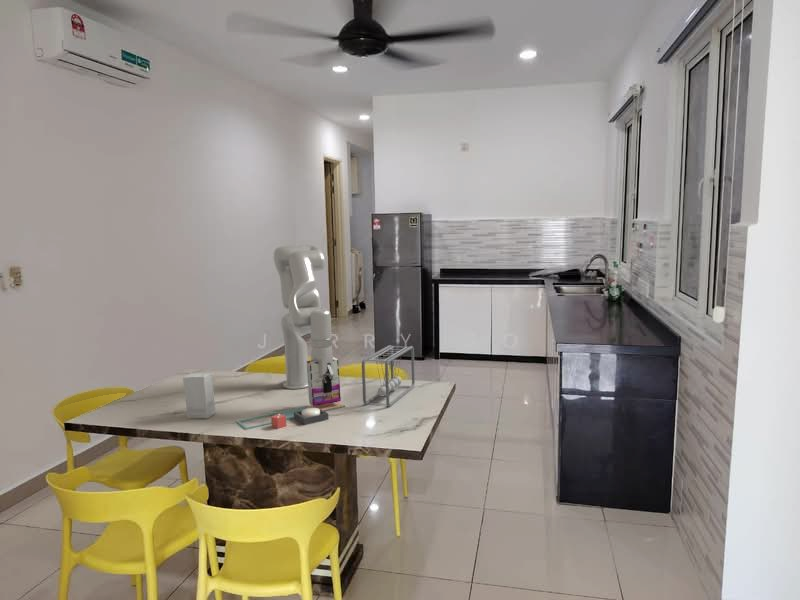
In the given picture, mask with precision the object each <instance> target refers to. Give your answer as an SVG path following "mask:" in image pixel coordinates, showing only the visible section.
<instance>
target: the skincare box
mask: <svg viewBox="0 0 800 600" xmlns="http://www.w3.org/2000/svg"><path fill="white" fill-rule="evenodd" d="M182 381H183V390H184V398H185V399H184V400H185V405H186V406H185V407H186V415H187V417H186V418H187V419H209V418H210V417H212V416H214V415H215V414H216V413H217V412H216V409H217V408H216V401H215V392H214V383H213V381H214V380H213V373H212V372H191V373H189V374H187V375H185V376H183V377H182Z"/></svg>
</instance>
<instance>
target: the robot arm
mask: <svg viewBox="0 0 800 600" xmlns="http://www.w3.org/2000/svg"><path fill="white" fill-rule="evenodd" d="M273 261H274V262H273V263H274V266H275V269H276V270H277V273H278V275H279V276H278V277H279V279H280V290H281V300H282V305H283V307H284V309H286V310H288V312H289V313H286V314H284V315H282V317H281V319H280V327H281V331H282V335H283V341H284V342H283V344H284V345H283V346H284V358H285V376H286V380H285V381H284V382H283V384H282V386H283V388H285V389H289V390H299V389H300V390H301V389H307V388H308V377H307V362H306V361H309V353H308V343H307V341H306V340H305V339H304V338H303V337H302V335H306V334H307V335H308V334H310V339H311V341H310V342H311V351H310V361H311V360H314V361H317V362H318V368H319V375H323V378H324V383H323V389H324V393H329V392H332V378H333V376H334V373H333V371H334V366H333V357H334V356H333V349H332V348H333V337H332V336H333V335H332V315H331V311H330V310H328V309H327V308H326V307H324V306H322V305H321V304H322V303H321V296H320V295H321V294H320V291H319V290H318V288H317V279H316V276H315V272H316V271H317V272H318V271H323V270H324V269H325V267H326V258H325V255H324V253H323V251H322V250H321V249H320V248H318V247H316V246H315V245H312V244H298V245H296V244H295V245H293V244H292V245H290V244H289V245H281V246H278V247H276V248H275V249H274V251H273ZM326 372H328V374H326ZM327 375H329V376H327ZM326 376H327V378H326Z"/></svg>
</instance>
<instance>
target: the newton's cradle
mask: <svg viewBox="0 0 800 600" xmlns="http://www.w3.org/2000/svg"><path fill="white" fill-rule="evenodd" d="M394 348H396V349H394ZM397 348H401V349H397ZM395 350H396V351H395ZM397 350H398V351H397ZM408 351H410V355H411V359H410V360H411V385H410V386H409V385H401V384H402V377H400V376H399V375H397V373H399V372H400V371H399V369H400V368H398V370H397V368H396V367H394V366H397V364H398V362H396V363H395V359H396V360H398V358H399V360H401V358H402V355H404V354H405V353H407V352H408ZM386 352H387V353H386ZM394 352H395V353H394ZM384 354H386V355H384ZM381 356H383V360H382V358H379V357H381ZM386 356H387V357H386ZM377 358H378V360H377ZM366 362H375V363H376V365H377V368H379V366H378V362H381V363H380V364H381V365H380V366H383V365H382V363H385V364H384V369H383V367H381V370H382V371H384V372H382V374H383V380H384V382H383V383H382V381H381V379H379V380H380V381H379V382H380V383H382V384H383V385H382V384H380V386H379V387H378V389H377V393H376V394H375V395H373V396H372V397H371V398H369V399H368V400H367V390H366V389H367V386H366V385H367V384H366ZM389 365H390V366H389ZM398 365H399V366H400V365H401V362H399V364H398ZM379 370H380V369H377V371H378V373H380V372H379ZM389 371H390V373H389ZM396 371H398V372H397V373H396ZM415 373H416V372H415V348H414V346H413V345H410V346H399V345H398V346H397V345H395V346H394V345H391V344H389V345H387V346H386V347H383V348H381V349H380V350H378V351H376V352H374V353H373V354H371V355H369V356H367V357H365V358H363V359H362V362H361V378H362V379H361V381H362V382H361V383H362V401H363V404H364V405H366V406H367V405H369V404H370V405H377V406H378V405H379V406H387V407H388V408H389V407H392V406H393V405H394V404H395V403H397V402H398V401H399V400H400V399H402V398H403V397H404V396H405V395H407V394H408V393H409V392H410V391H411V390H413V389H414V387H415V384H416V383H415V381H416V379H415V378H416V377H415ZM378 375H379V376H378V377H379V378H381V375H380V374H378ZM389 375H390V376H389ZM389 377H390V379H389ZM397 387H402V388H406V390H404V391H403V392H402V393H401V394H399V395H398V396H397V397H396V398H394V399H393V400H391V401H390V392H391V391H393V390H394V389H395V388H397ZM384 396H385V403H386V404H385V403H375V402H373V401H374V400H375V399H377V398H378V397H384Z"/></svg>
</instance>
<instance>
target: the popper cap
mask: <svg viewBox="0 0 800 600" xmlns="http://www.w3.org/2000/svg"><path fill="white" fill-rule="evenodd" d="M319 414H320V409H318V408H307V409H304V410H302V416H304V417H311V416H315V415H319Z"/></svg>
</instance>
